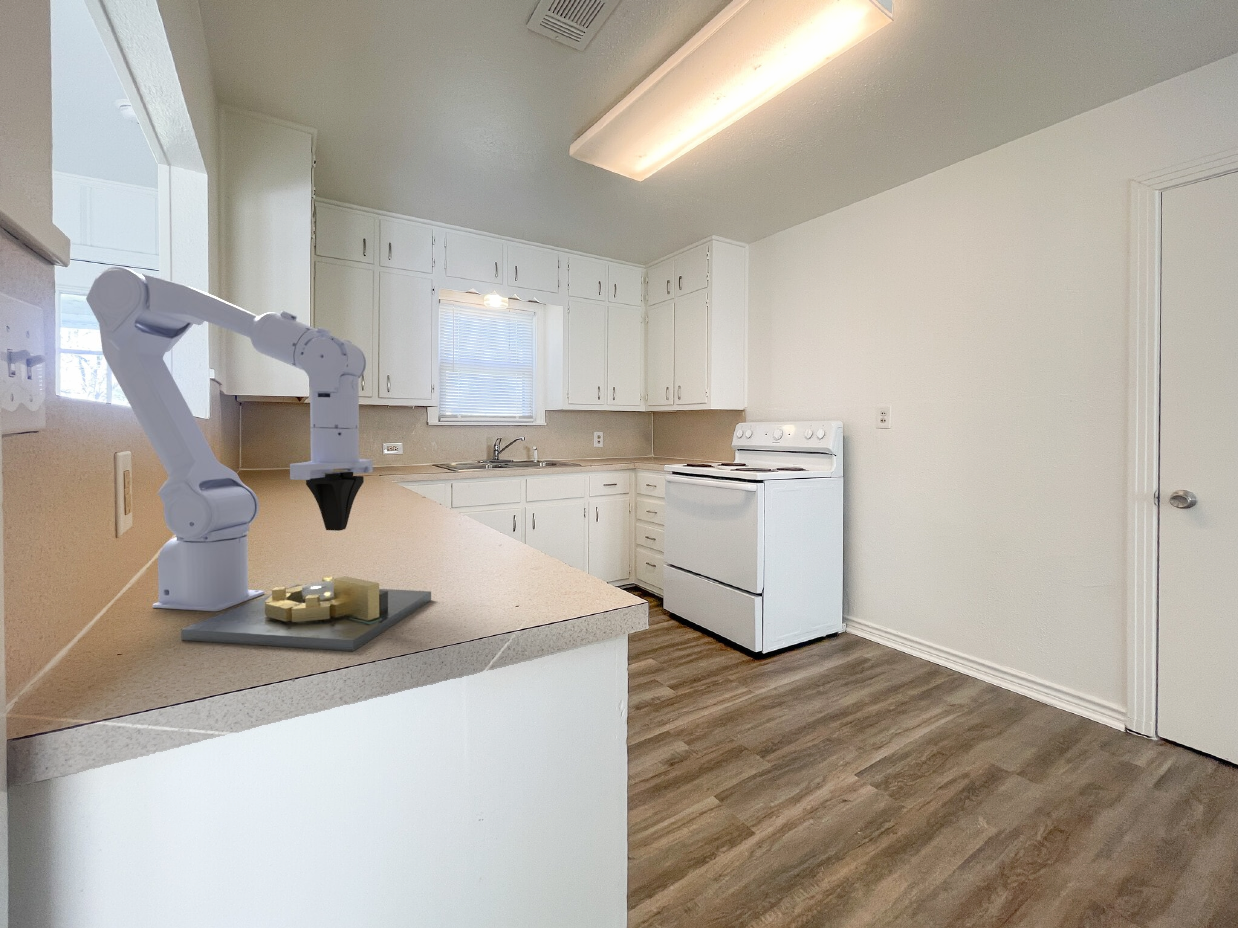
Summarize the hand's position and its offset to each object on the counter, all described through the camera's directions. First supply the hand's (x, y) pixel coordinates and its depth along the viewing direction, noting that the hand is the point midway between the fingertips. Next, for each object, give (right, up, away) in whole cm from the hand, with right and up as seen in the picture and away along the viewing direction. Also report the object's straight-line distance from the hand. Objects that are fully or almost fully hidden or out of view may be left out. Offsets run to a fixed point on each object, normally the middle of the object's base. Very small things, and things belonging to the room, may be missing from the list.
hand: (335, 529), depth 72 cm
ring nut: (+3, -9, -7) cm, 11 cm away
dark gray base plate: (+1, -10, -6) cm, 12 cm away
